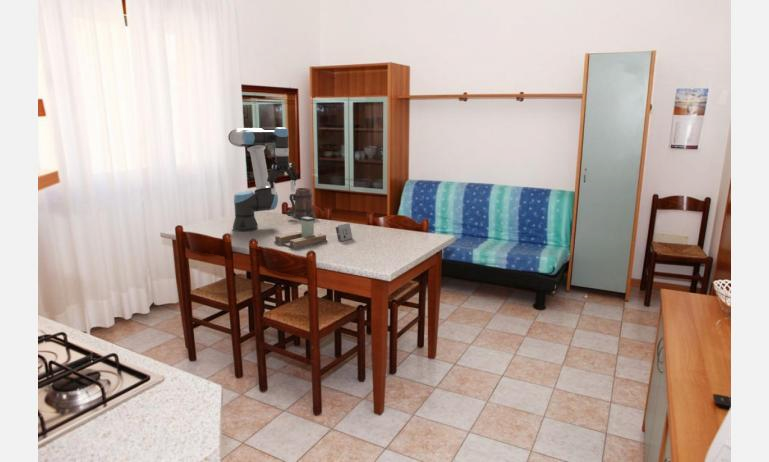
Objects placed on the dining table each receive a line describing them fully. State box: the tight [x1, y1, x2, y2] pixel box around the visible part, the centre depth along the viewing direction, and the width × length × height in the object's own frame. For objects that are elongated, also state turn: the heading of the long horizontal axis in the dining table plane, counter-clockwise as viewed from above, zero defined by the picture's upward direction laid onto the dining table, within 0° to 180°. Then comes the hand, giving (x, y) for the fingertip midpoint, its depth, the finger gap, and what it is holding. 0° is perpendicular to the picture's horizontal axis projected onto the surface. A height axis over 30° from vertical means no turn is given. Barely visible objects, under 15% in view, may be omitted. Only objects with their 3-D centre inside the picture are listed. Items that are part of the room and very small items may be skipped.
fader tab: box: [300, 217, 315, 237], centre depth 282 cm, size 6×4×12 cm
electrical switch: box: [335, 222, 353, 242], centre depth 288 cm, size 9×5×9 cm, turn 141°
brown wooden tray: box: [274, 230, 328, 250], centre depth 280 cm, size 20×22×4 cm
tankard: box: [286, 187, 316, 220], centre depth 343 cm, size 24×17×20 cm
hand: (283, 192), depth 284 cm, fingers open, 13 cm apart
